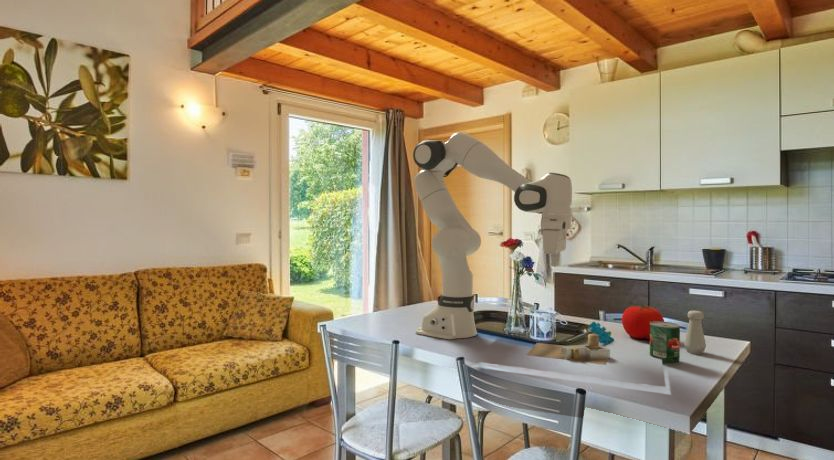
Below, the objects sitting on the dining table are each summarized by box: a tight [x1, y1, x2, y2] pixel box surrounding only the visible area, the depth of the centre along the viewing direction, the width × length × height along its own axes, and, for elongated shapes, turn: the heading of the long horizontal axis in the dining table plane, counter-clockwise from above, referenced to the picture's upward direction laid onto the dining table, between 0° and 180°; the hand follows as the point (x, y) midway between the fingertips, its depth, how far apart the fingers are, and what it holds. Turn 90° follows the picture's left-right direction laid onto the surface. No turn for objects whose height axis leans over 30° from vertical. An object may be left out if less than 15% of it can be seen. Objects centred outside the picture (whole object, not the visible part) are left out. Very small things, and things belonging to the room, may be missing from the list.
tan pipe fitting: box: [561, 343, 611, 360], centre depth 139 cm, size 13×6×3 cm, turn 102°
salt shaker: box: [684, 310, 707, 355], centre depth 147 cm, size 6×6×13 cm
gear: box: [589, 321, 615, 346], centre depth 157 cm, size 11×6×10 cm
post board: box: [526, 333, 608, 365], centre depth 142 cm, size 22×15×8 cm
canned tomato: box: [649, 321, 681, 366], centre depth 139 cm, size 8×8×11 cm
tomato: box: [621, 304, 665, 340], centre depth 166 cm, size 13×14×12 cm
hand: (554, 266), depth 152 cm, fingers closed
